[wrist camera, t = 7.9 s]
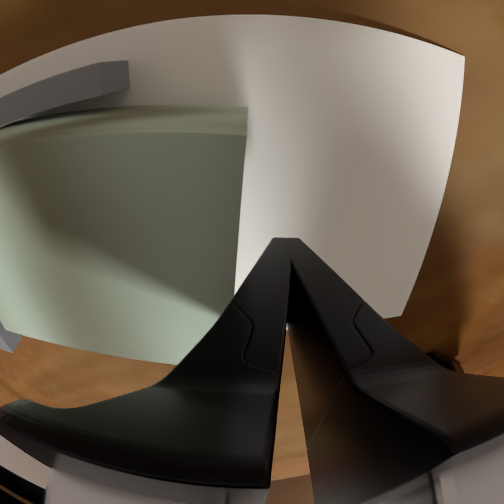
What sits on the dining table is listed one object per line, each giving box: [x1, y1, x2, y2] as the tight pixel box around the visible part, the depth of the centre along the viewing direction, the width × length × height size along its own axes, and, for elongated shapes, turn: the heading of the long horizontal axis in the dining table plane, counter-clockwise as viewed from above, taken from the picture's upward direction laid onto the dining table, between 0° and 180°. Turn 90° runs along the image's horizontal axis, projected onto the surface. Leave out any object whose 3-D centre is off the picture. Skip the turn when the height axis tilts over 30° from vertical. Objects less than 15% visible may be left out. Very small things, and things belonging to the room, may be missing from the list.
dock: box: [0, 15, 465, 353], centre depth 11 cm, size 24×14×5 cm, turn 90°
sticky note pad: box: [0, 105, 248, 365], centre depth 9 cm, size 9×7×5 cm
